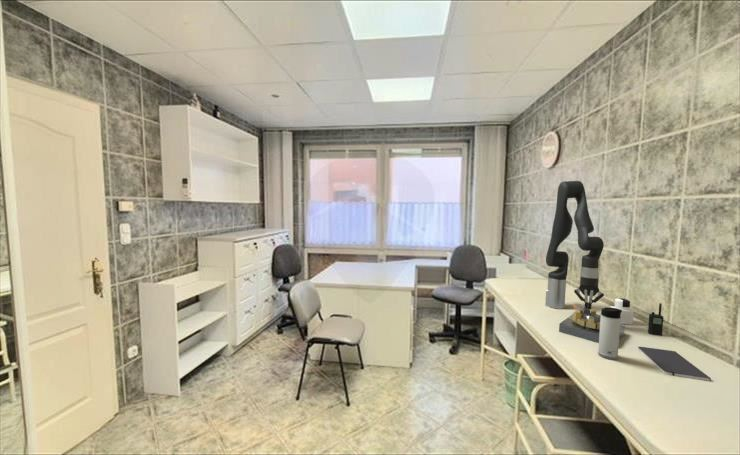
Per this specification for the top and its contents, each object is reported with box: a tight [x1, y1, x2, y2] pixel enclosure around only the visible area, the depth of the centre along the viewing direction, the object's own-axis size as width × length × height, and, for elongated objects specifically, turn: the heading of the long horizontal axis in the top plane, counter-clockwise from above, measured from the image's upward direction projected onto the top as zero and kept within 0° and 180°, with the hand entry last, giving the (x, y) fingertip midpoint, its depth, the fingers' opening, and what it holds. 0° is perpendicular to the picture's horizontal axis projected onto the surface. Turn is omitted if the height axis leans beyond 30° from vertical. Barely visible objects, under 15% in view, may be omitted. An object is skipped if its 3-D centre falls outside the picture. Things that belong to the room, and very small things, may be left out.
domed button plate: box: [558, 312, 626, 344], centre depth 147 cm, size 21×21×8 cm
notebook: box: [637, 346, 712, 382], centre depth 120 cm, size 13×2×21 cm
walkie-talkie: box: [647, 303, 664, 337], centre depth 146 cm, size 5×3×15 cm
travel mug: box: [597, 306, 622, 361], centre depth 124 cm, size 6×7×20 cm
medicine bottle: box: [609, 297, 635, 325], centre depth 162 cm, size 7×7×12 cm
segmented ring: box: [571, 302, 601, 329], centre depth 151 cm, size 16×24×4 cm
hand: (587, 309), depth 157 cm, fingers closed
